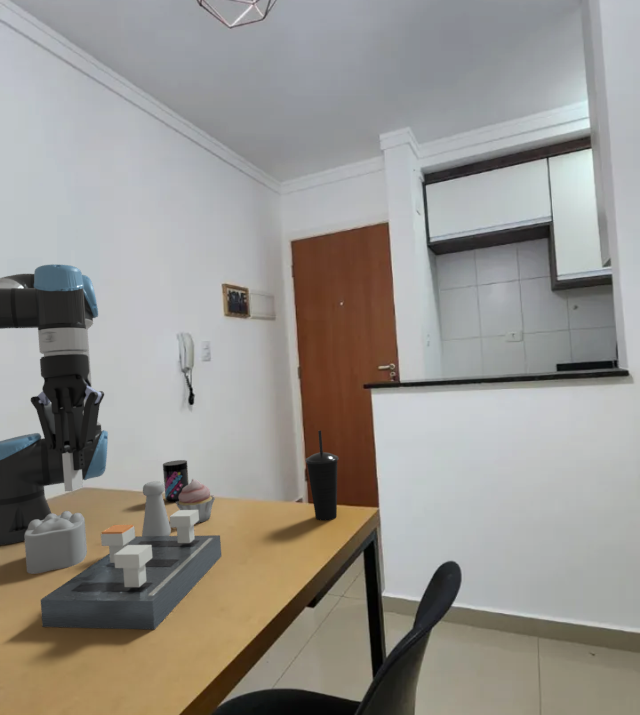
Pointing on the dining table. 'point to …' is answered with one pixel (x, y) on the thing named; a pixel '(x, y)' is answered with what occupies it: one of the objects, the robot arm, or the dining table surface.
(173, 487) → the supplement container
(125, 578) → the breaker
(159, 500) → the salt shaker
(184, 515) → the breaker
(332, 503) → the drinking cup
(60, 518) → the lumpy-topped squat cylinder
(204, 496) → the cupcake
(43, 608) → the panel
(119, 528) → the block
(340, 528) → the dining table surface
